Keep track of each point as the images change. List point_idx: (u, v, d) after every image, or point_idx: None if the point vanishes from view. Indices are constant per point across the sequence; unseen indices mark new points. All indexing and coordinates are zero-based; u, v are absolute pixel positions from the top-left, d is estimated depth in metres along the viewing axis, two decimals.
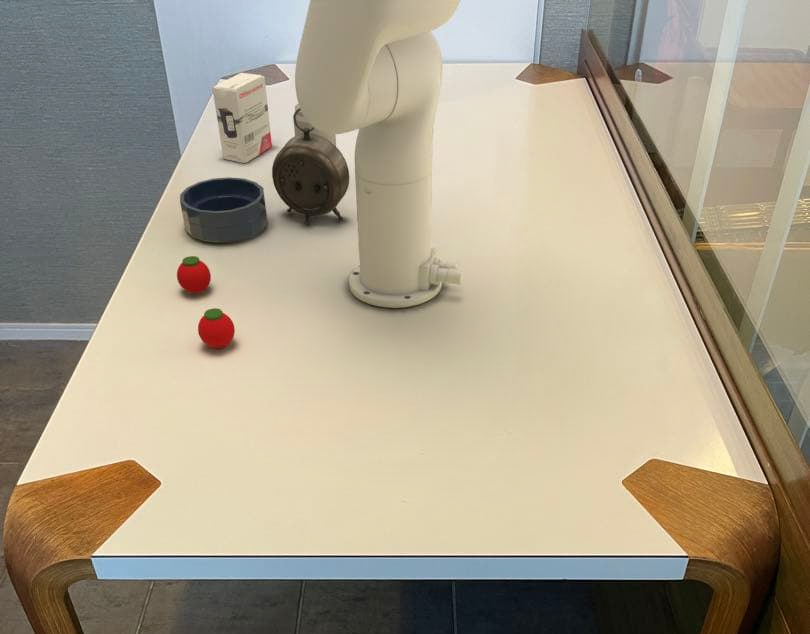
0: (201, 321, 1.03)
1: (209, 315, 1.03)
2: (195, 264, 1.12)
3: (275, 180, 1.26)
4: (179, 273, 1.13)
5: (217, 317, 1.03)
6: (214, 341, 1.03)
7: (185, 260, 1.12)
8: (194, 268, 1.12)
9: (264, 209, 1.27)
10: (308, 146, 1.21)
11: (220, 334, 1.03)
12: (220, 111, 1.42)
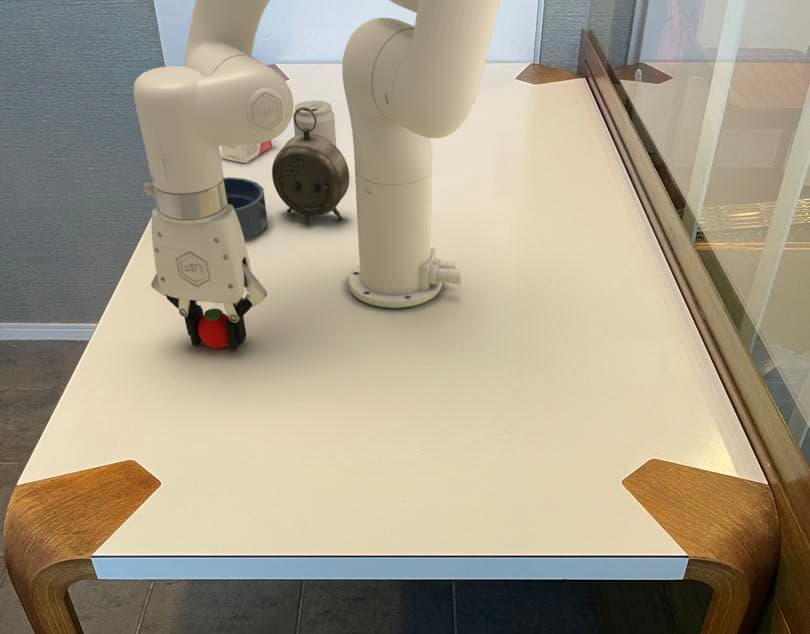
0: (201, 321, 1.03)
1: (209, 315, 1.03)
2: None
3: (275, 180, 1.26)
4: None
5: (217, 317, 1.03)
6: (214, 341, 1.03)
7: None
8: None
9: (264, 209, 1.27)
10: (308, 146, 1.21)
11: (220, 334, 1.03)
12: None
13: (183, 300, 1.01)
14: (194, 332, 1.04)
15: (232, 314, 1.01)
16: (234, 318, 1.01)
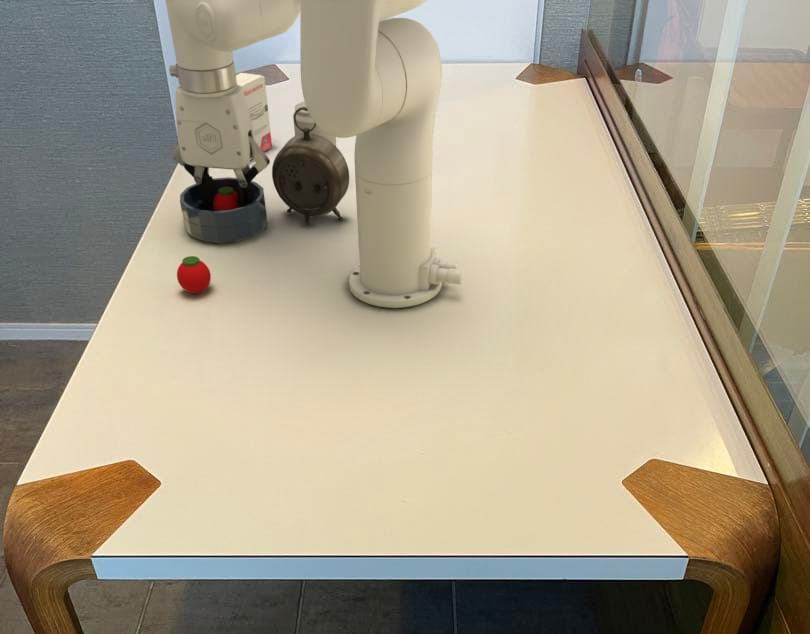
0: (216, 196, 1.27)
1: (222, 191, 1.26)
2: (195, 264, 1.12)
3: (275, 180, 1.26)
4: (179, 273, 1.13)
5: (229, 192, 1.26)
6: None
7: (185, 260, 1.12)
8: (194, 268, 1.12)
9: (264, 209, 1.27)
10: (308, 146, 1.21)
11: (231, 207, 1.27)
12: None
13: (198, 168, 1.24)
14: (206, 197, 1.27)
15: (242, 180, 1.24)
16: (243, 184, 1.24)
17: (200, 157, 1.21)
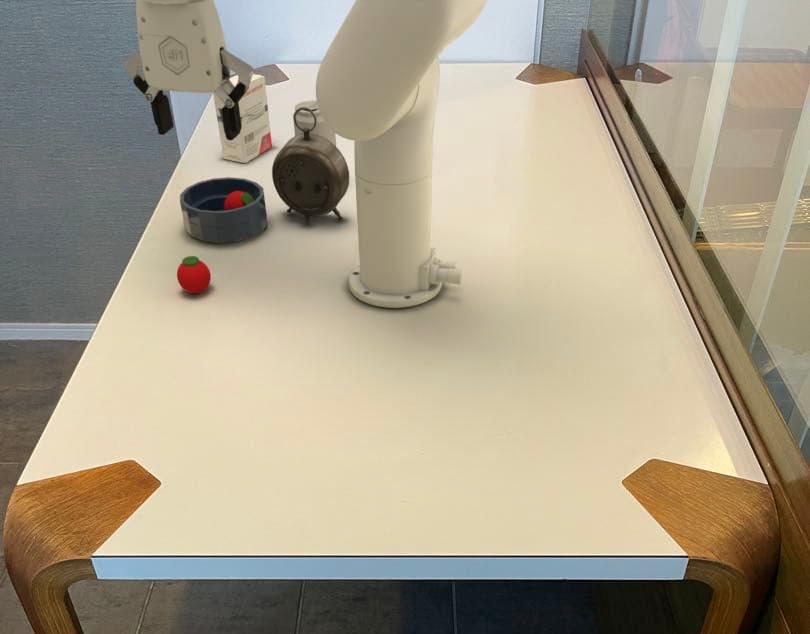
0: (236, 198, 1.26)
1: (245, 200, 1.26)
2: (195, 264, 1.12)
3: (275, 180, 1.26)
4: (179, 273, 1.13)
5: None
6: None
7: (185, 260, 1.12)
8: (194, 268, 1.12)
9: (264, 209, 1.27)
10: (308, 146, 1.21)
11: None
12: (220, 111, 1.42)
13: None
14: (160, 119, 1.12)
15: (227, 98, 1.08)
16: (229, 103, 1.08)
17: (166, 78, 1.06)
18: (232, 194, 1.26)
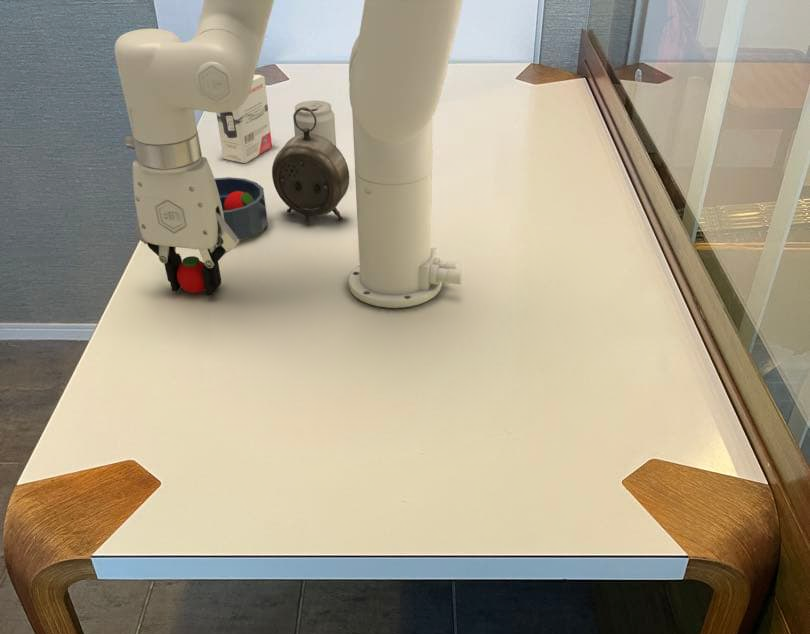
0: (236, 198, 1.26)
1: (245, 200, 1.26)
2: (195, 264, 1.12)
3: (275, 180, 1.26)
4: (179, 273, 1.13)
5: None
6: None
7: (185, 260, 1.13)
8: (194, 268, 1.12)
9: (264, 209, 1.27)
10: (308, 146, 1.21)
11: None
12: None
13: (163, 247, 1.11)
14: (173, 278, 1.14)
15: (207, 260, 1.11)
16: (209, 264, 1.11)
17: (162, 236, 1.08)
18: (232, 194, 1.26)
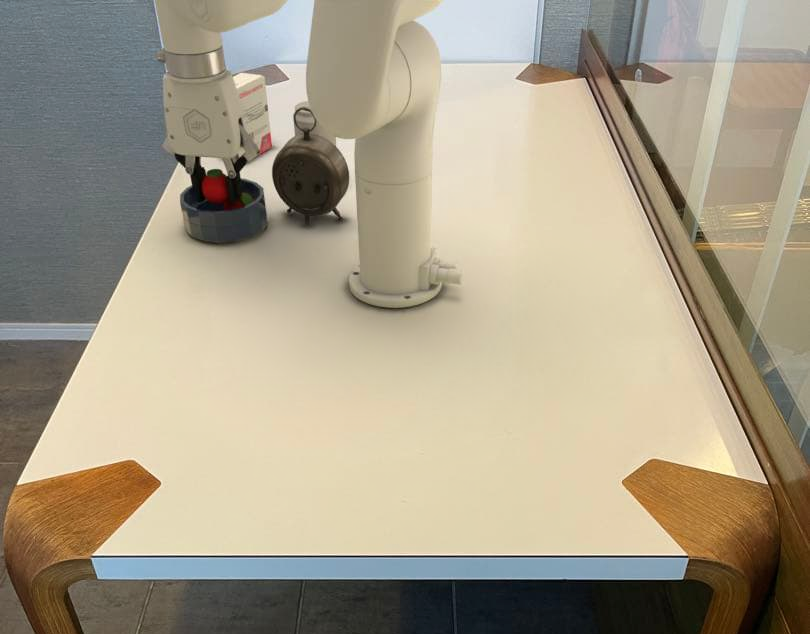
0: None
1: (244, 201, 1.26)
2: (219, 175, 1.22)
3: (275, 180, 1.26)
4: (203, 184, 1.22)
5: None
6: None
7: (209, 172, 1.22)
8: (218, 179, 1.21)
9: (264, 209, 1.27)
10: (308, 146, 1.21)
11: None
12: None
13: (189, 158, 1.20)
14: (198, 189, 1.23)
15: (230, 170, 1.20)
16: (232, 174, 1.20)
17: (189, 146, 1.17)
18: None
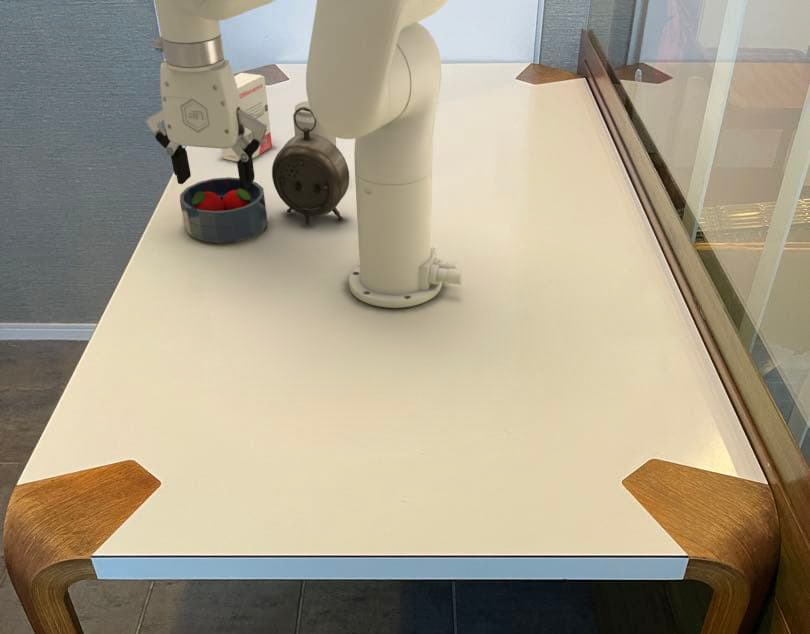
0: (232, 195, 1.26)
1: (241, 195, 1.26)
2: (203, 196, 1.24)
3: (275, 180, 1.26)
4: None
5: (246, 200, 1.26)
6: None
7: (195, 201, 1.24)
8: (206, 199, 1.24)
9: (264, 209, 1.27)
10: (308, 146, 1.21)
11: None
12: None
13: None
14: (179, 170, 1.22)
15: (243, 153, 1.18)
16: (244, 157, 1.18)
17: (186, 135, 1.16)
18: (228, 193, 1.27)
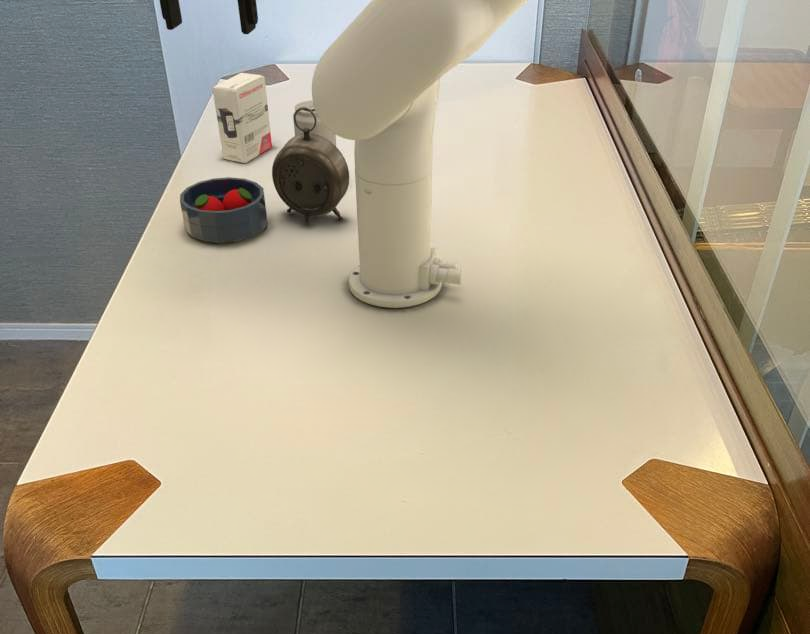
0: (233, 193, 1.26)
1: (242, 193, 1.26)
2: (208, 199, 1.25)
3: (275, 180, 1.26)
4: None
5: (247, 199, 1.27)
6: None
7: (198, 203, 1.25)
8: (210, 202, 1.25)
9: (264, 209, 1.27)
10: (308, 146, 1.21)
11: None
12: (220, 111, 1.42)
13: None
14: (168, 11, 1.03)
15: None
16: None
17: None
18: (229, 191, 1.27)
